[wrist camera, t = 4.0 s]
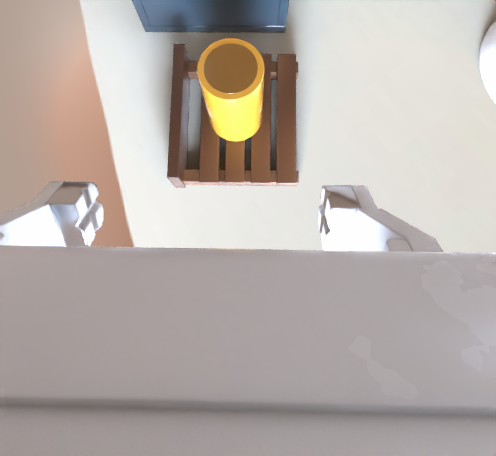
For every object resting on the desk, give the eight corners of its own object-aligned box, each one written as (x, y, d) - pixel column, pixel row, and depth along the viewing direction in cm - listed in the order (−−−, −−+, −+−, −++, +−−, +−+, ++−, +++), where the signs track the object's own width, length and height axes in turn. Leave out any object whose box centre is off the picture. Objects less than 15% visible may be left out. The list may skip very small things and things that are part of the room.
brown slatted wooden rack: (296, 65, 38) (300, 44, 35) (297, 189, 37) (301, 179, 33) (180, 65, 39) (172, 43, 35) (174, 187, 37) (165, 177, 33)
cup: (262, 92, 36) (264, 37, 28) (261, 141, 35) (264, 100, 27) (210, 91, 36) (198, 37, 28) (208, 141, 35) (195, 99, 27)
